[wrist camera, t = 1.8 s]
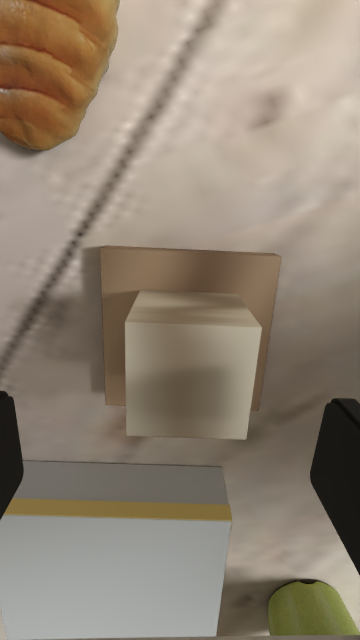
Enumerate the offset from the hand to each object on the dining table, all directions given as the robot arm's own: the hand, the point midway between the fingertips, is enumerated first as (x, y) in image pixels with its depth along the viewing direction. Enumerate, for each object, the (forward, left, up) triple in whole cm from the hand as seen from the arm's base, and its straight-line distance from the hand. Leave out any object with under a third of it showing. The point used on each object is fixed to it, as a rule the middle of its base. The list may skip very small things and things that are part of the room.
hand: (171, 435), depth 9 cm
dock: (+3, +16, -9) cm, 19 cm away
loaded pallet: (-1, 0, -9) cm, 9 cm away
